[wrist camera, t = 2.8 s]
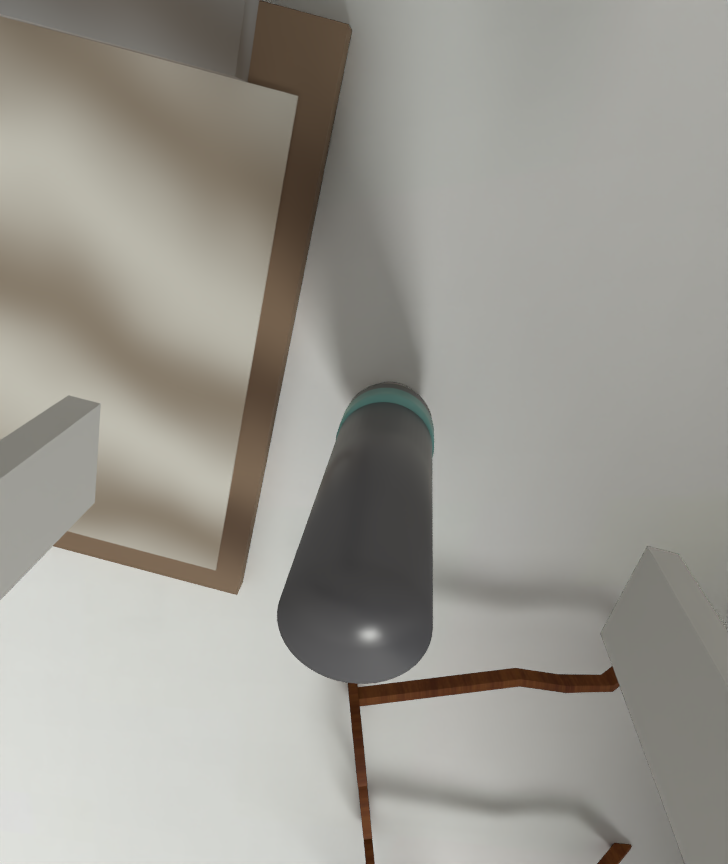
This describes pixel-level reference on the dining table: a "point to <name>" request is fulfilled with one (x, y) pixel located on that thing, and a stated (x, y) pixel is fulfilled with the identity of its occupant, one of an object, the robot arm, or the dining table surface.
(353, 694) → the glasses
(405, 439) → the marker
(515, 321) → the dining table surface
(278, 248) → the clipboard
